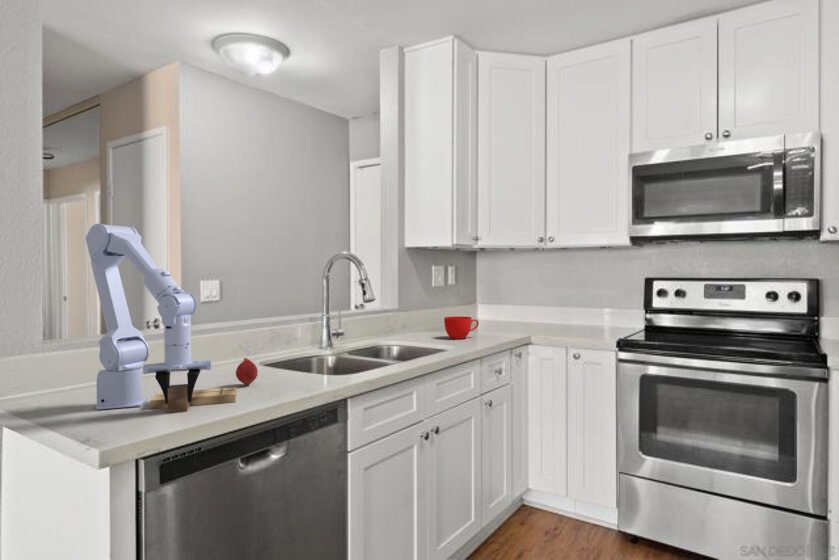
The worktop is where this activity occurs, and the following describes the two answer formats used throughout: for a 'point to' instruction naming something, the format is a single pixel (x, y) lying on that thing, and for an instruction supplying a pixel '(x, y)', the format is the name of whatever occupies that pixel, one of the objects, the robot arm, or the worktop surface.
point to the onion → (246, 372)
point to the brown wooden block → (178, 398)
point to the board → (200, 397)
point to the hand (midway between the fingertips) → (179, 402)
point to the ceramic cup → (459, 326)
